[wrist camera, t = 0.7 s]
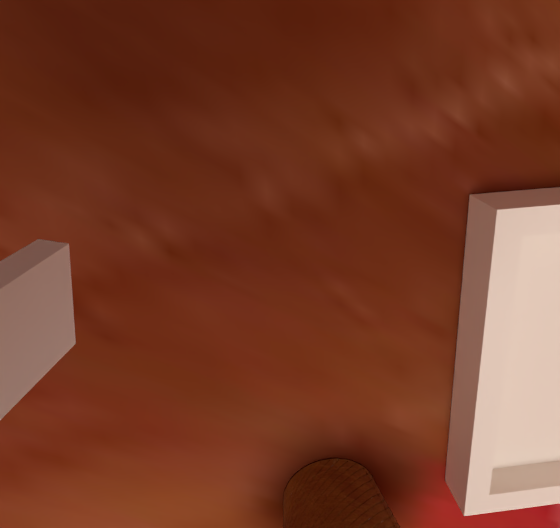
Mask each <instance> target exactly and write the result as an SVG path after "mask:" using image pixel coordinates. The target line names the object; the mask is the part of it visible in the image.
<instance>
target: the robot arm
mask: <svg viewBox="0 0 560 528" xmlns="http://www.w3.org/2000/svg"><path fill="white" fill-rule="evenodd" d="M75 344H76V341H75V326H74V312H73V297H72V283H71V268H70V254H69V244H67V243H61V242H54V241H48V240H41V239H38V240H36V241H34V242H33V243H31V244H29V245H28V246H26V247H24V248H22V249H21V250H19V251H17V252H16V253H14V254H12V255H10V256H9V257H7V258H5V259H4V260H2V261H0V420H1V419H2V418H3V417H4V416H5V415H6V414H7V413H8V412H9V411H10V410H11V409H12V408H13V407H14V406H15V405H16V404H17V403H18V402H19V401H20V400H21V399H22V398H23V397H24V396H25V394H26V393H27V392H28V391H29V390H30V389H31V388H32V387H33V386H34V385H35V384H36V383H37V382H38V381H39V380H40V379H41V378H42V377H43V376H44V375H45V374H46V373H47V372H48V371H49V370H50V369H51V368H52V367H53V366H54V365H55V364H56V363H57V362H58V361H59V360H60V359H61V358H62V357H63V356H64V355H65V354H66V353H67V352H68V351H69V350H70V349H71V348H72V347H73V346H74V345H75Z"/></svg>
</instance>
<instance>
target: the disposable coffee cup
mask: <svg viewBox="0 0 560 528" xmlns="http://www.w3.org/2000/svg"><path fill="white" fill-rule="evenodd" d="M283 528H400V526H399V525H398V523H397V521H396V519H395V517H394V516H393V514H392V512H391V510H390V508H389V507H388V504H387V503H386V501H385V499H384V497H383V495H382V494H381V492H380V490H379V488H378V486H377V485H376V483H375V481H374V479H373V477H372V475H371V474H370V473H369V471H368V470H367V469H366V468H365V467H364V466H362V465H360V464H358V463H356V462H354V461H350V460H347V459H326V460H321V461H318V462H315V463H312V464H310V465H308V466H306V467H305V468H303V469H301V470H300V471H299V472H298V473H296V474H295V475H294V476H293V477H292V479H291V480H290V481H289V483H288V485H287V487H286V489H285V491H284V495H283Z"/></svg>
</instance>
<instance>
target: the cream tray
mask: <svg viewBox="0 0 560 528" xmlns="http://www.w3.org/2000/svg"><path fill="white" fill-rule="evenodd" d="M445 481H446V483H447V485H448V487H449V489H450V491H451V493H452V495H453V496H454V498H455V500H456V502H457V504H458V506H459V508H460V510H461V511H462V513H463V515H464V516H469V515H476V514H484V513H491V512H499V511H506V510H513V509H521V508H528V507H536V506H543V505H550V504H558V503H560V187H554V188H542V189H529V190H517V191H505V192H493V193H481V194H470V196H469V208H468V219H467V231H466V242H465V254H464V265H463V277H462V288H461V300H460V312H459V323H458V335H457V346H456V358H455V369H454V381H453V392H452V404H451V415H450V427H449V439H448V450H447V462H446V473H445Z"/></svg>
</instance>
